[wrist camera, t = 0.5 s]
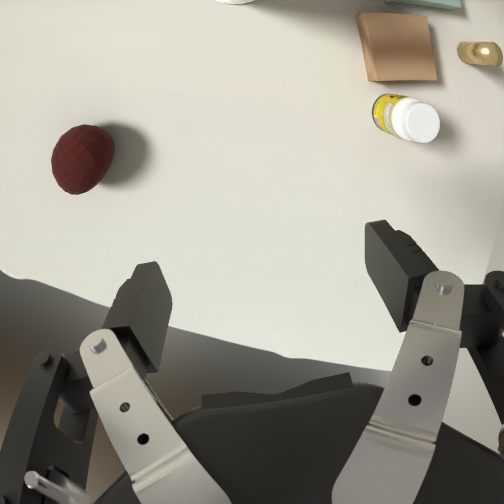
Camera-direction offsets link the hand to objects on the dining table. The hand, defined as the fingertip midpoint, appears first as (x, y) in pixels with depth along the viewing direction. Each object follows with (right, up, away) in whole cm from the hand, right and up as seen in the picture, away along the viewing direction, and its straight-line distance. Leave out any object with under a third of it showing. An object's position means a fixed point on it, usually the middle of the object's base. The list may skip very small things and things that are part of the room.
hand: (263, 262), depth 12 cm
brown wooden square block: (+16, +24, +16) cm, 33 cm away
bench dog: (+27, +26, +15) cm, 40 cm away
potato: (-20, +12, +21) cm, 31 cm away
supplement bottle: (+15, +17, +20) cm, 30 cm away
